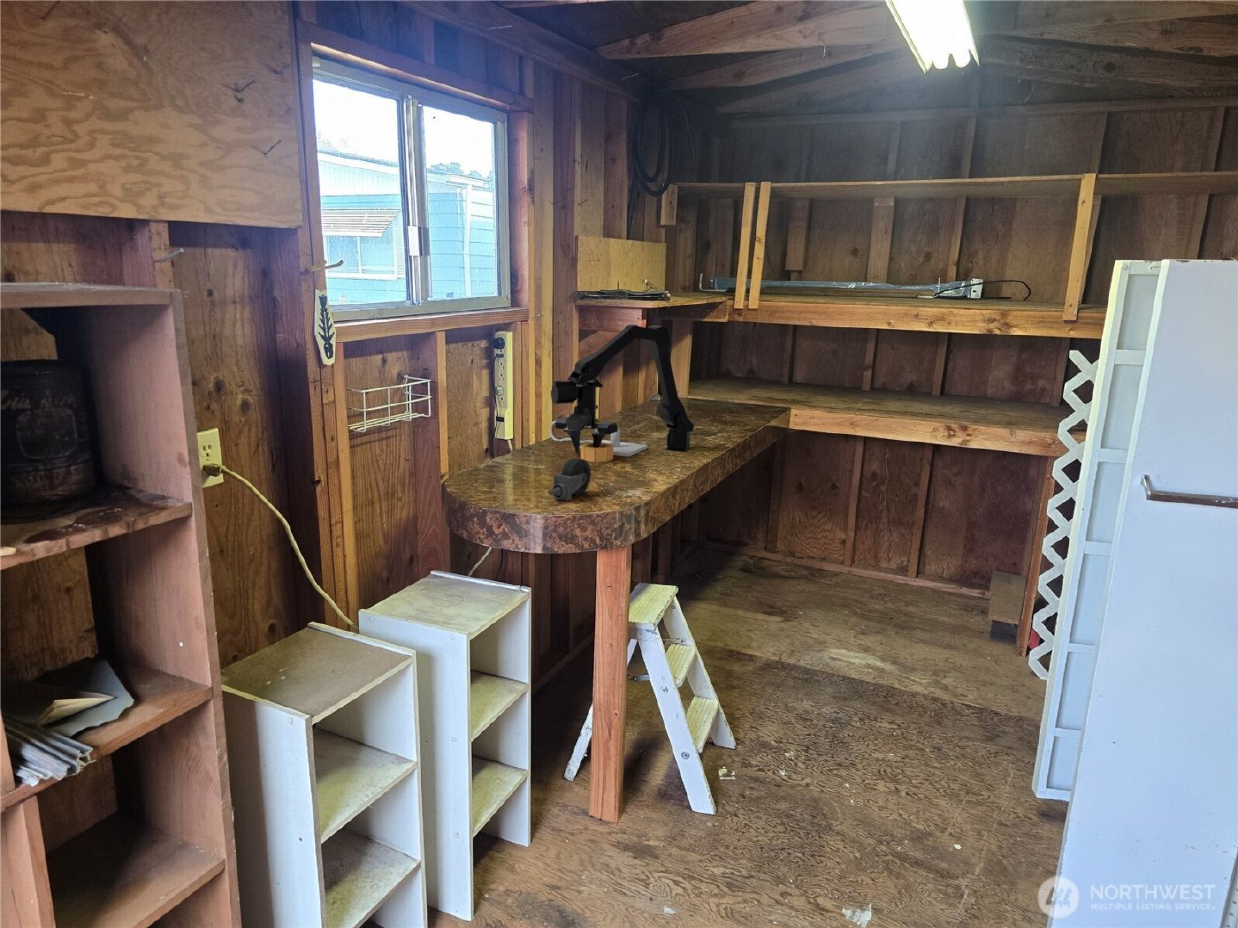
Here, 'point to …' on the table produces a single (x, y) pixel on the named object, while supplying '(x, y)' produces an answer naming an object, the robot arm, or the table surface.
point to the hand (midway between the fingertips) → (585, 453)
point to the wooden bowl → (597, 452)
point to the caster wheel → (571, 479)
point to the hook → (564, 438)
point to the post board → (624, 446)
